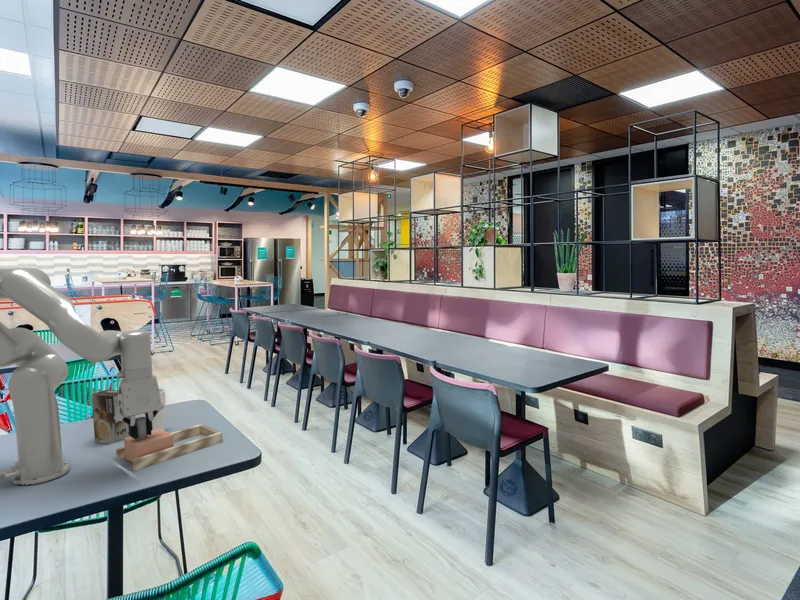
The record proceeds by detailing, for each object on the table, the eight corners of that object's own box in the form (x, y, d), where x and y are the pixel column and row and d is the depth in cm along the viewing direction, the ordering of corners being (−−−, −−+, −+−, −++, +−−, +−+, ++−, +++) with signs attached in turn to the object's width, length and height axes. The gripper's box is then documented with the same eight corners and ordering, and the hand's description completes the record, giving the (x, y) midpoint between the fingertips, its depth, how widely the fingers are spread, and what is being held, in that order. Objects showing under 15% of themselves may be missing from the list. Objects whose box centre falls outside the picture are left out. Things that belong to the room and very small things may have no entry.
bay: (135, 474, 128) (134, 460, 128) (116, 462, 136) (115, 448, 136) (222, 444, 148) (222, 432, 148) (201, 435, 156) (201, 424, 156)
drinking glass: (171, 431, 161) (169, 388, 159) (159, 438, 154) (157, 394, 153) (153, 430, 161) (150, 388, 160) (140, 438, 155) (137, 393, 153)
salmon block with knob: (138, 466, 130) (135, 424, 129) (125, 458, 136) (122, 418, 135) (174, 454, 138) (171, 415, 137) (160, 447, 144) (158, 409, 143)
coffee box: (132, 437, 155) (129, 390, 154) (116, 445, 149) (113, 396, 147) (110, 435, 157) (107, 389, 156) (93, 442, 151) (90, 394, 150)
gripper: (110, 381, 125) (115, 448, 126) (172, 370, 137) (175, 430, 139) (100, 377, 129) (104, 441, 131) (160, 366, 142) (164, 425, 144)
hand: (141, 435), depth 135 cm, fingers closed on salmon block with knob, 3 cm apart
